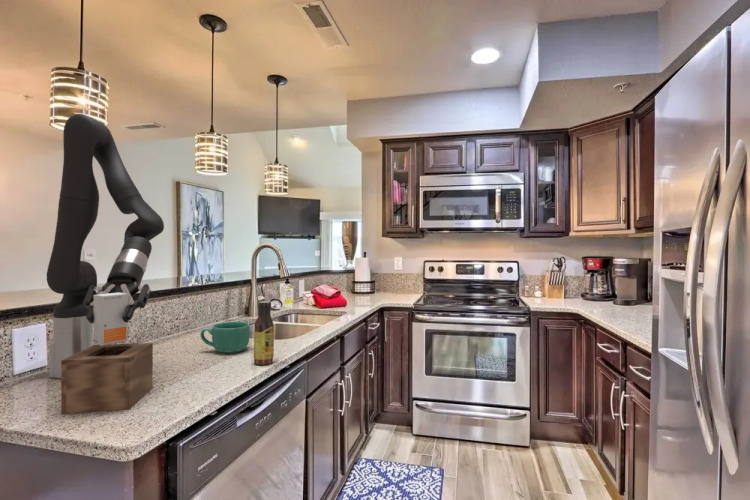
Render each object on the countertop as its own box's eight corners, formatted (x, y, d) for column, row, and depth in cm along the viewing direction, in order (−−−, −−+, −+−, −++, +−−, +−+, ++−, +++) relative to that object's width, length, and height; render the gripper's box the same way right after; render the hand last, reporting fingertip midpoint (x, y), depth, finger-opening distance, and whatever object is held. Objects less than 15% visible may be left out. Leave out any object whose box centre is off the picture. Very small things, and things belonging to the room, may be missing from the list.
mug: (252, 346, 148) (252, 321, 148) (246, 355, 135) (246, 328, 135) (206, 347, 145) (206, 322, 145) (195, 356, 133) (195, 329, 133)
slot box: (61, 413, 87) (61, 360, 87) (94, 390, 101) (94, 344, 101) (129, 409, 90) (129, 357, 90) (152, 387, 104) (152, 342, 104)
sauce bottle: (268, 366, 123) (268, 303, 122) (249, 365, 124) (250, 303, 124) (277, 360, 129) (277, 300, 129) (260, 359, 130) (260, 300, 130)
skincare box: (101, 346, 92) (100, 295, 92) (93, 344, 94) (92, 294, 94) (128, 341, 97) (128, 293, 97) (120, 338, 99) (119, 292, 99)
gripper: (94, 260, 101) (67, 313, 90) (153, 259, 104) (135, 310, 93) (104, 279, 107) (81, 330, 95) (161, 278, 109) (144, 328, 98)
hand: (108, 320), depth 94 cm, fingers closed on skincare box, 7 cm apart
